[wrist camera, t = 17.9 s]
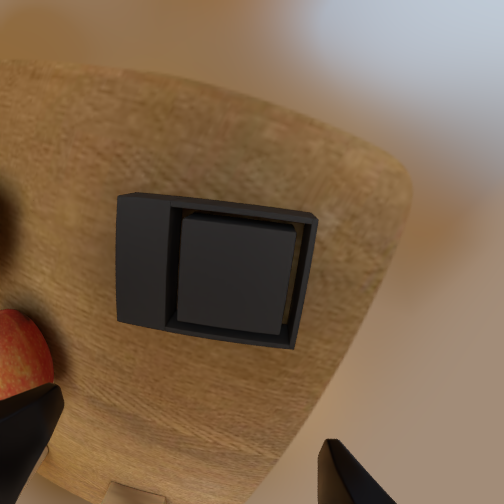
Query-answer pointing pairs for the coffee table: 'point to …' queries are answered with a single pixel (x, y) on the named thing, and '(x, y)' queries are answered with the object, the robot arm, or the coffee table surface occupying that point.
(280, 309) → the black block
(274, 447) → the coffee table surface
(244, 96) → the coffee table surface
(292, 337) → the black tray
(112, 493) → the beige wooden block
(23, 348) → the apple
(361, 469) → the robot arm
